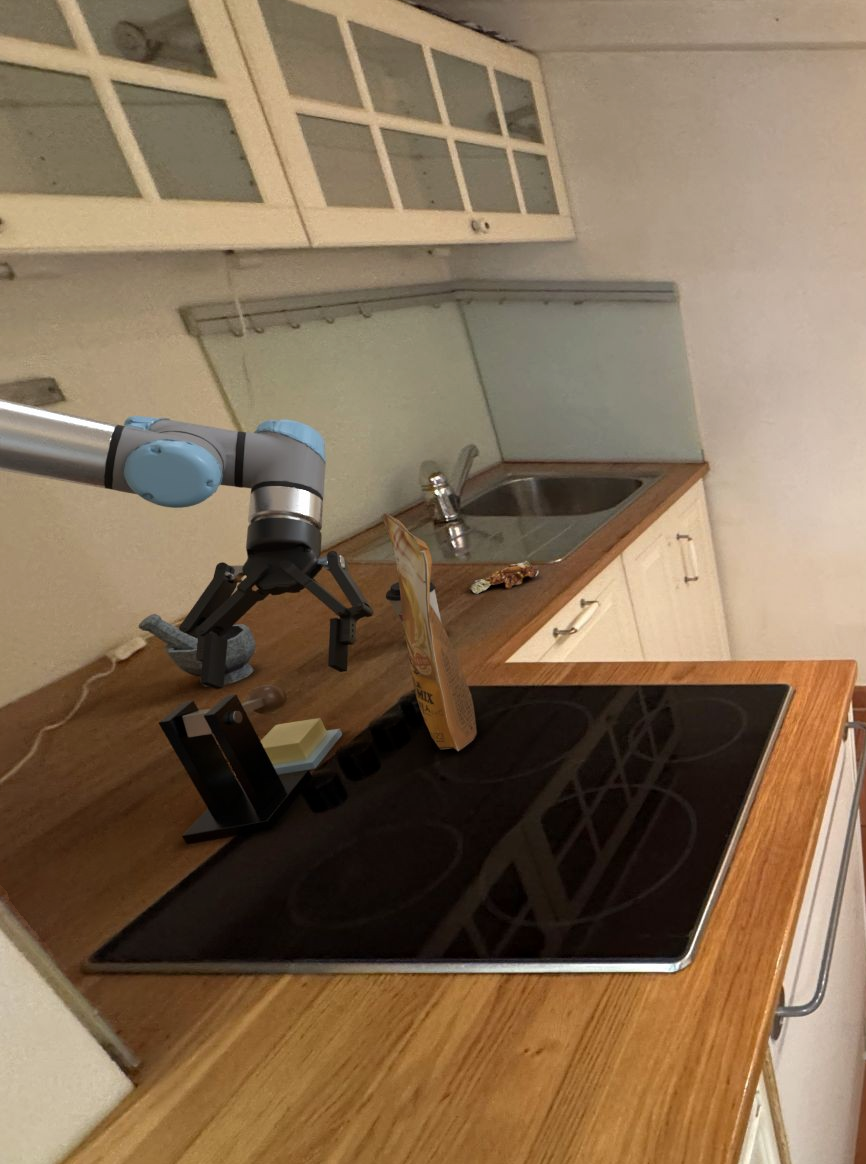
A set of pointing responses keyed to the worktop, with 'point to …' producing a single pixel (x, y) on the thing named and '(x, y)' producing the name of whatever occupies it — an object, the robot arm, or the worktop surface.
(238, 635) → the mortar and pestle
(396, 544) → the pancake mix bag
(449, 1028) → the worktop surface
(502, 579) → the pastry
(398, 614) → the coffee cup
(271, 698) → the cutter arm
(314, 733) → the butter dish
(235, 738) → the lever base
